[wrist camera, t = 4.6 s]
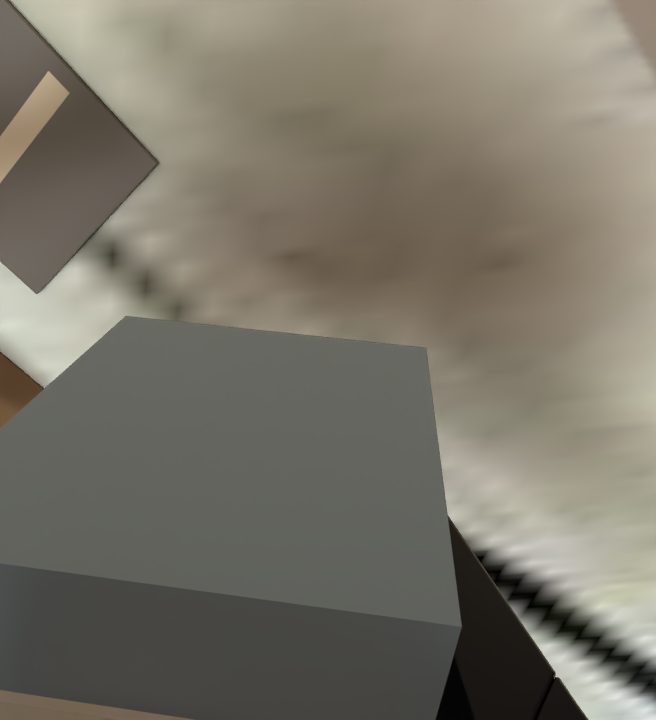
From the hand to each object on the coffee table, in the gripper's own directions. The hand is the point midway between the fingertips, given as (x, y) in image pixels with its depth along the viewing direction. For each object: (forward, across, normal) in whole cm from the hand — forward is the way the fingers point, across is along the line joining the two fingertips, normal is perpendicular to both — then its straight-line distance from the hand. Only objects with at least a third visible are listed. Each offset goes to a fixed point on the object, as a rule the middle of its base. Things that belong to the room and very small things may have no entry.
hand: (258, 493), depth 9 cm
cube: (+1, 0, 0) cm, 1 cm away
